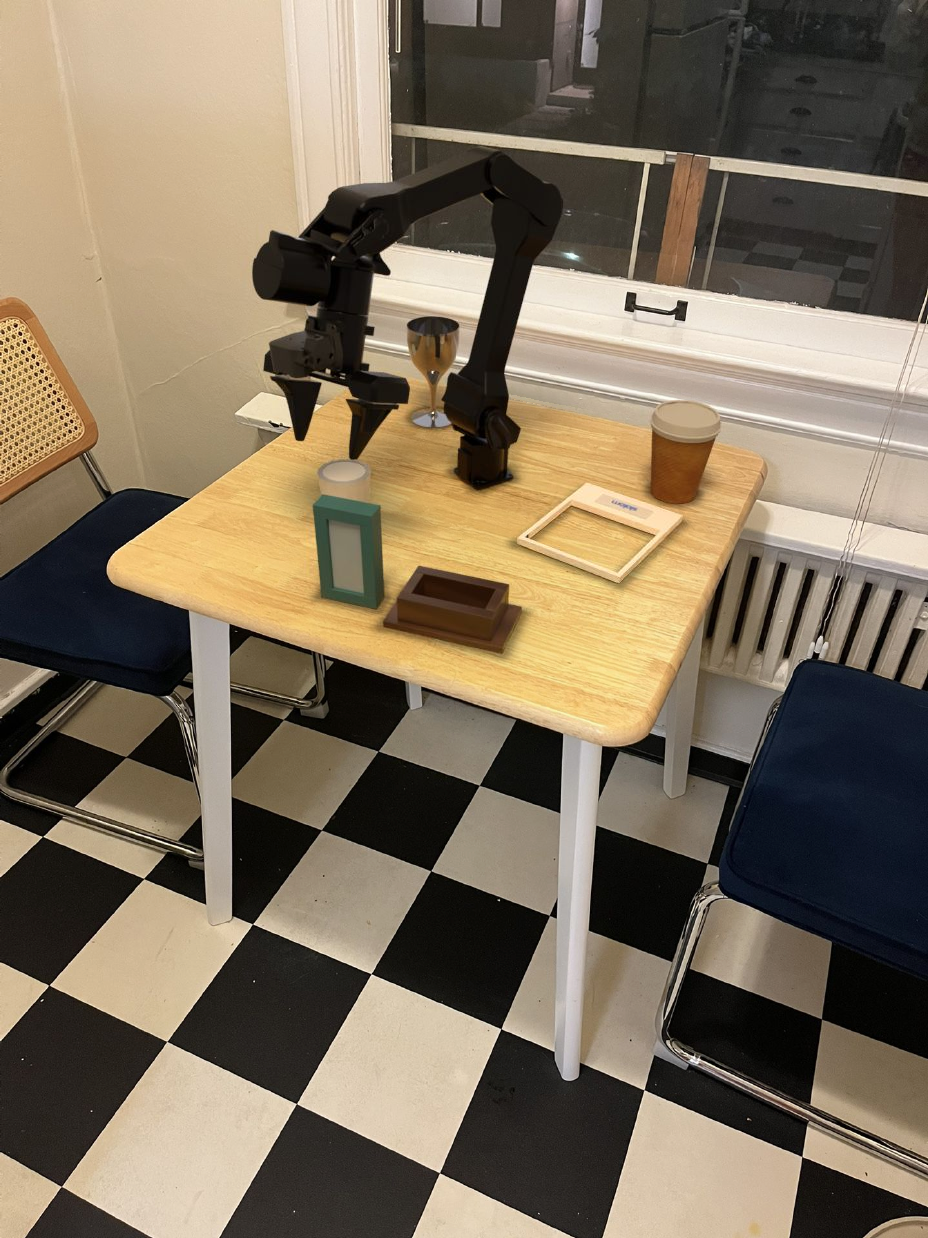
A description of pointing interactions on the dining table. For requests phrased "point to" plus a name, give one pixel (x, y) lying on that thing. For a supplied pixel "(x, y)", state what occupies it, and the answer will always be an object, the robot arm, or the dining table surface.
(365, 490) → the beige cup
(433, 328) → the wine glass
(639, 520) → the photo frame
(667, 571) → the dining table surface
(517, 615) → the frame holder
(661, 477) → the disposable coffee cup
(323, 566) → the picture frame
